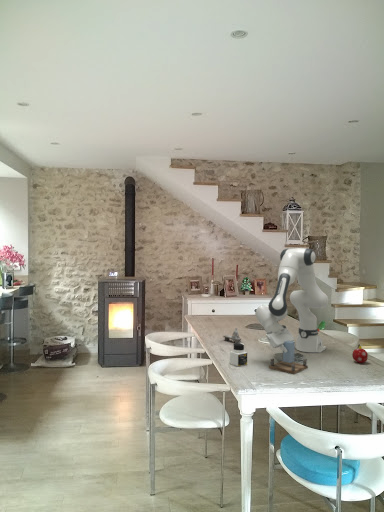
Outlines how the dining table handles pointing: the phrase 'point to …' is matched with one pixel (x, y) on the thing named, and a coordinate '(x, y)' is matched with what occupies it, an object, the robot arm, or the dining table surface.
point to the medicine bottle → (238, 355)
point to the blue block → (289, 351)
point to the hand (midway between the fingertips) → (289, 351)
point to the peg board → (288, 366)
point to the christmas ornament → (360, 355)
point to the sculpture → (235, 338)
